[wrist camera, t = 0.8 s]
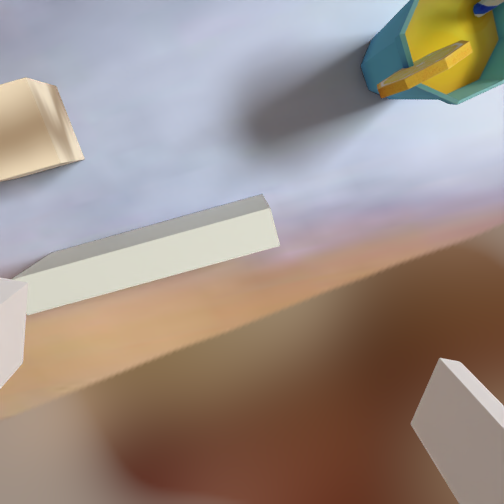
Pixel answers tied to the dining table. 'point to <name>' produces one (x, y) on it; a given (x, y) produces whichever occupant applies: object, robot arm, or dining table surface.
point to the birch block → (34, 129)
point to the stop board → (150, 253)
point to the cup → (438, 51)
